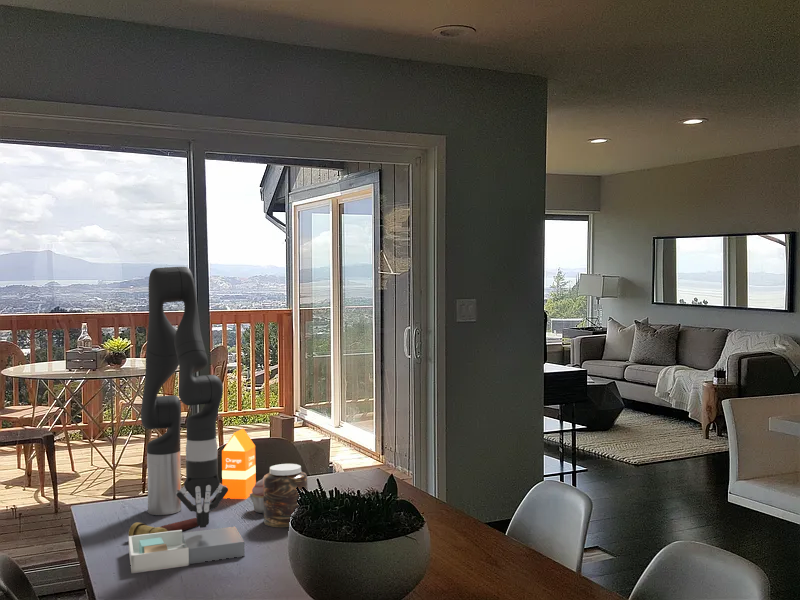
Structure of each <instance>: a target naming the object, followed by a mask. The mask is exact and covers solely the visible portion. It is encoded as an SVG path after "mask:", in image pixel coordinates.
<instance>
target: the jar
mask: <svg viewBox="0 0 800 600" xmlns="http://www.w3.org/2000/svg"><path fill="white" fill-rule="evenodd" d="M263 477H264V484H263V503H264V513H263V523H264V525H266V526H267V525H268V527H270V528H290V527H289V522H290V517H291V514H292V513H293V512H294V510H295V509H296V508H298V507H299V505H298V504H297V502H296V501H297V499H299V494H298V492H297V490H296V488H297V487H298V488H299V489H300V490H301V491H302V492H303V490H302V487H305V488H306V489H307V490H308V487H309V486H308V475H307V473H306V472H304V471H302V466H301V465H300V464H297V463H281V464H280V463H279V464H275V465H271V466H269V472H268V473H266V474H264V476H263ZM308 491H309V490H308Z"/></svg>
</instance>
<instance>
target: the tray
mask: <svg viewBox="0 0 800 600" xmlns="http://www.w3.org/2000/svg"><path fill="white" fill-rule="evenodd" d="M182 533H183V531H182V530H176V531H167V532H159V533H151V534H143V535H134V536H129V535H128V555H129V564H130V565H131V566H130V571H131V572H130V573H131V574H137V573H145V572H152V571H159V570H160V571H161V570H167V569H174V568H180V567H181V568H182V567H189V566H190V564H189V548H183V545H182ZM160 537H161V538H162V540H163V542H164V544H166V545H167V549H168V550H165V551H157V552H150V553H142V554H140V552H139V540H146V539H153V538H160Z"/></svg>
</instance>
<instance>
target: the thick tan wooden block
mask: <svg viewBox="0 0 800 600" xmlns="http://www.w3.org/2000/svg"><path fill="white" fill-rule="evenodd" d="M165 550H168V549H167V545H166V544H161V545H153V546H144V553H150V552H157V551H165Z"/></svg>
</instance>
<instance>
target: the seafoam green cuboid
mask: <svg viewBox="0 0 800 600" xmlns="http://www.w3.org/2000/svg"><path fill="white" fill-rule="evenodd" d="M161 544H164V542H163V540H162V538H161V537H160V538H153V539H146V540H139V552H140V554H142V553H144V546H153V545H161Z"/></svg>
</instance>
